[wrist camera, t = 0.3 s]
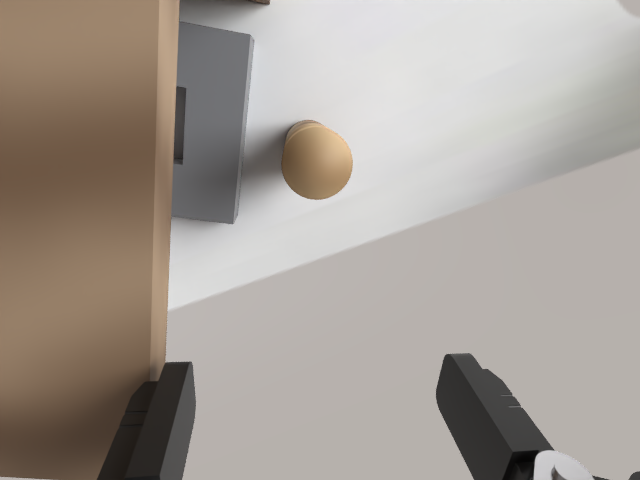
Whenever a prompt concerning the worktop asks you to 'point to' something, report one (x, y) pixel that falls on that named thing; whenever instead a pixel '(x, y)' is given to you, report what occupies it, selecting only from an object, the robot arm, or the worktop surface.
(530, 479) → the robot arm
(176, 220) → the worktop surface
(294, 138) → the wooden peg
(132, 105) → the wooden l bracket
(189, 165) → the socket plate
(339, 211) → the worktop surface
